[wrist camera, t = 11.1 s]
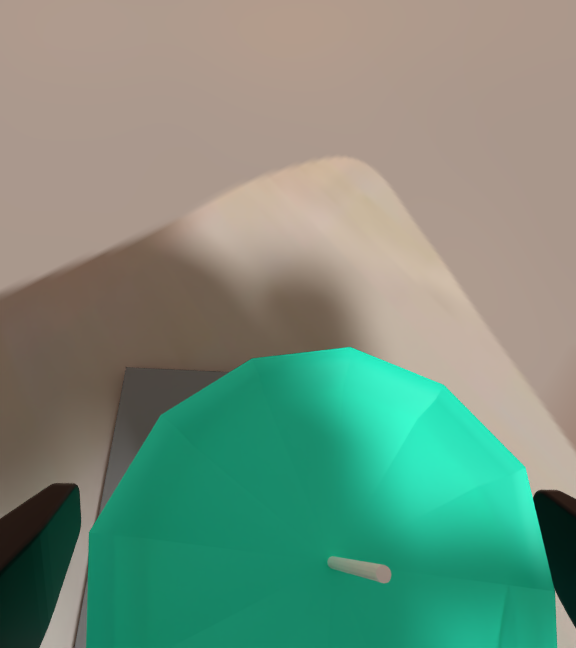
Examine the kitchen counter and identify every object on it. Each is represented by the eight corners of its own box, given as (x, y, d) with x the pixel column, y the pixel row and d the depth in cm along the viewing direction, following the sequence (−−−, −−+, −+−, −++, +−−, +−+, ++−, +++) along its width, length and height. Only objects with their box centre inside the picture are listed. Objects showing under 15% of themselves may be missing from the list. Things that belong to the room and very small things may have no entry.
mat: (466, 757, 13) (473, 763, 13) (52, 786, 12) (47, 794, 11) (414, 383, 18) (417, 380, 18) (128, 370, 17) (126, 367, 17)
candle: (153, 645, 13) (-173, 1160, 2) (196, 445, 16) (141, 250, 5) (346, 666, 13) (841, 1185, 3) (354, 468, 16) (613, 333, 5)
